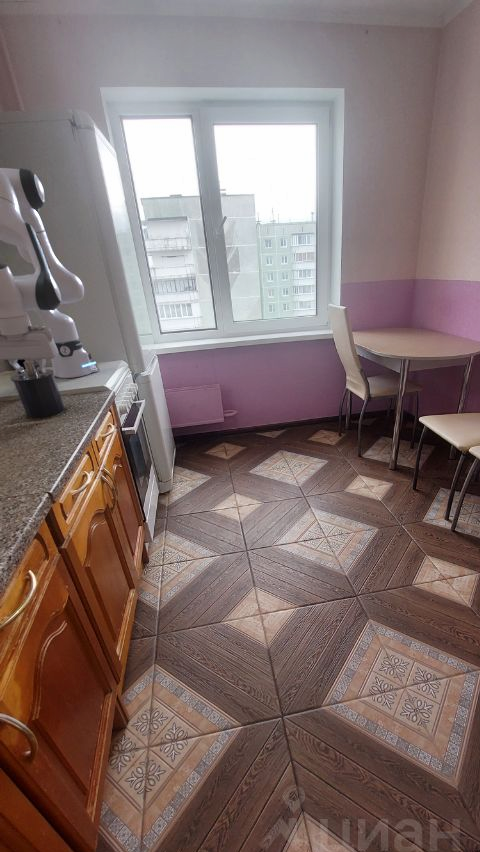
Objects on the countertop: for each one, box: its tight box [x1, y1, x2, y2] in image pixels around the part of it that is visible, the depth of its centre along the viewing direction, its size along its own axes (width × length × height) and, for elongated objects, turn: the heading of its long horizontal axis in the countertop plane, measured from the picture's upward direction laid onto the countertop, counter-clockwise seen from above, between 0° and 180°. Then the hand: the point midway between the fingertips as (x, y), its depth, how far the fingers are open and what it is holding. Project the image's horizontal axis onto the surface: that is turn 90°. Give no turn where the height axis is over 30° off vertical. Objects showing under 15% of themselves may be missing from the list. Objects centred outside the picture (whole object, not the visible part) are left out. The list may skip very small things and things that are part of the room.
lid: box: [10, 360, 54, 383], centre depth 119 cm, size 12×12×5 cm
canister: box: [13, 375, 66, 419], centre depth 124 cm, size 11×11×12 cm
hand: (32, 373), depth 120 cm, fingers open, 6 cm apart
